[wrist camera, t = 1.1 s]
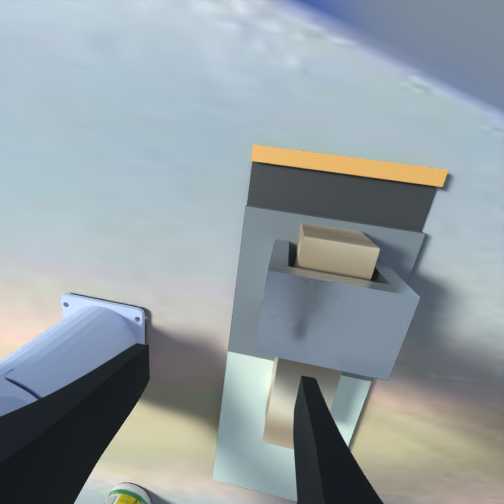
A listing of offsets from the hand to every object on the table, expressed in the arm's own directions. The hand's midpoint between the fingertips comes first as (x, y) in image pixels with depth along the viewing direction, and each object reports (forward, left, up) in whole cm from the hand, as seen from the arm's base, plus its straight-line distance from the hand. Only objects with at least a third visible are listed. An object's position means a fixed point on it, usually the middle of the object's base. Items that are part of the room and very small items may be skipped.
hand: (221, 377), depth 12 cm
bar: (-2, -5, -9) cm, 10 cm away
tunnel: (+2, -5, -10) cm, 11 cm away
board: (-6, -5, -10) cm, 12 cm away
